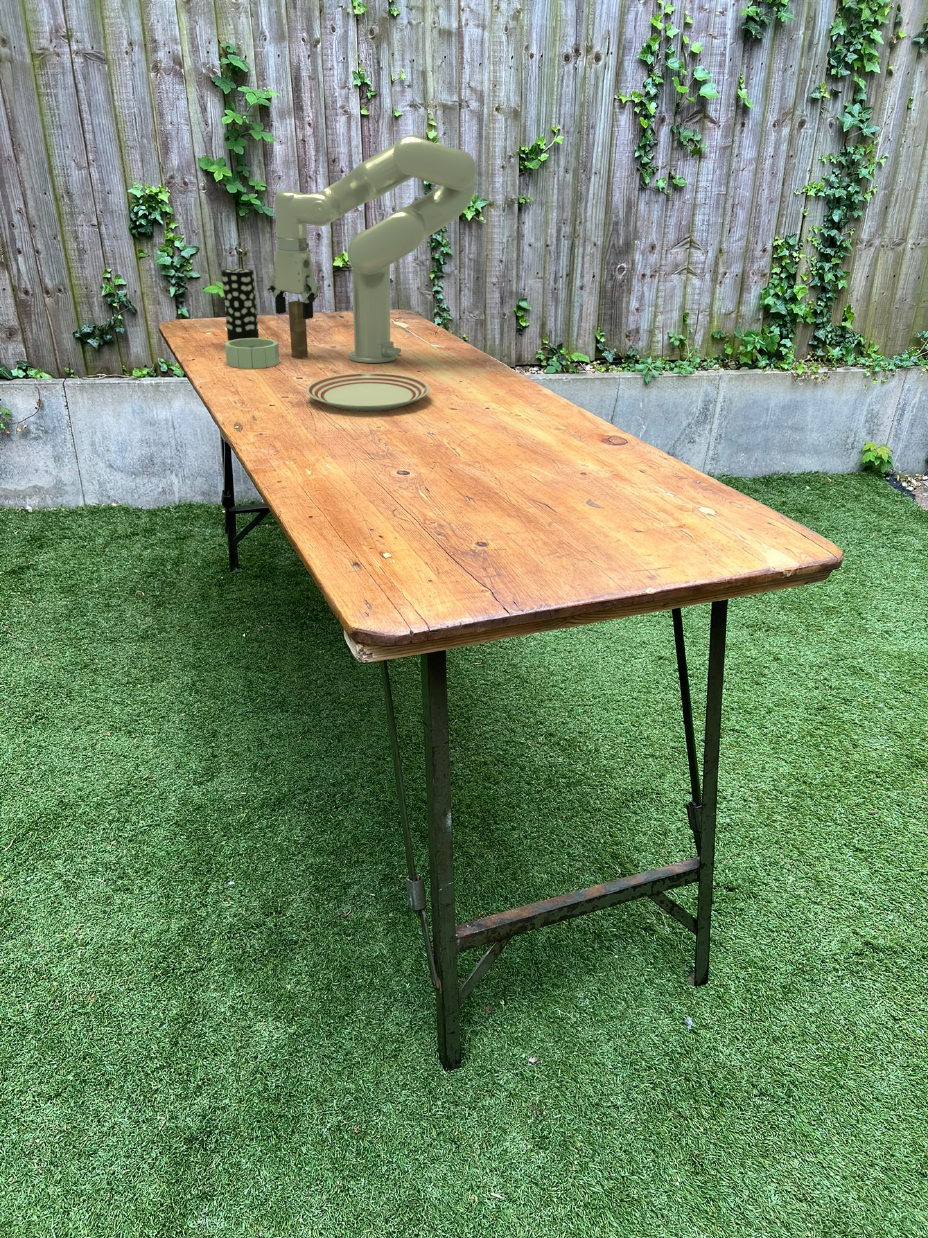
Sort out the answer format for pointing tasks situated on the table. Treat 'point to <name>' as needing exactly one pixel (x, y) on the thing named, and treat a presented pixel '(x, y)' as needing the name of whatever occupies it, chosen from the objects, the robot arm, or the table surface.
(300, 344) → the wooden rectangular post
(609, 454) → the table surface
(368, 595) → the table surface
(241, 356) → the green faceted socket ring
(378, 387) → the dinner plate
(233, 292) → the white-spotted black cylinder
